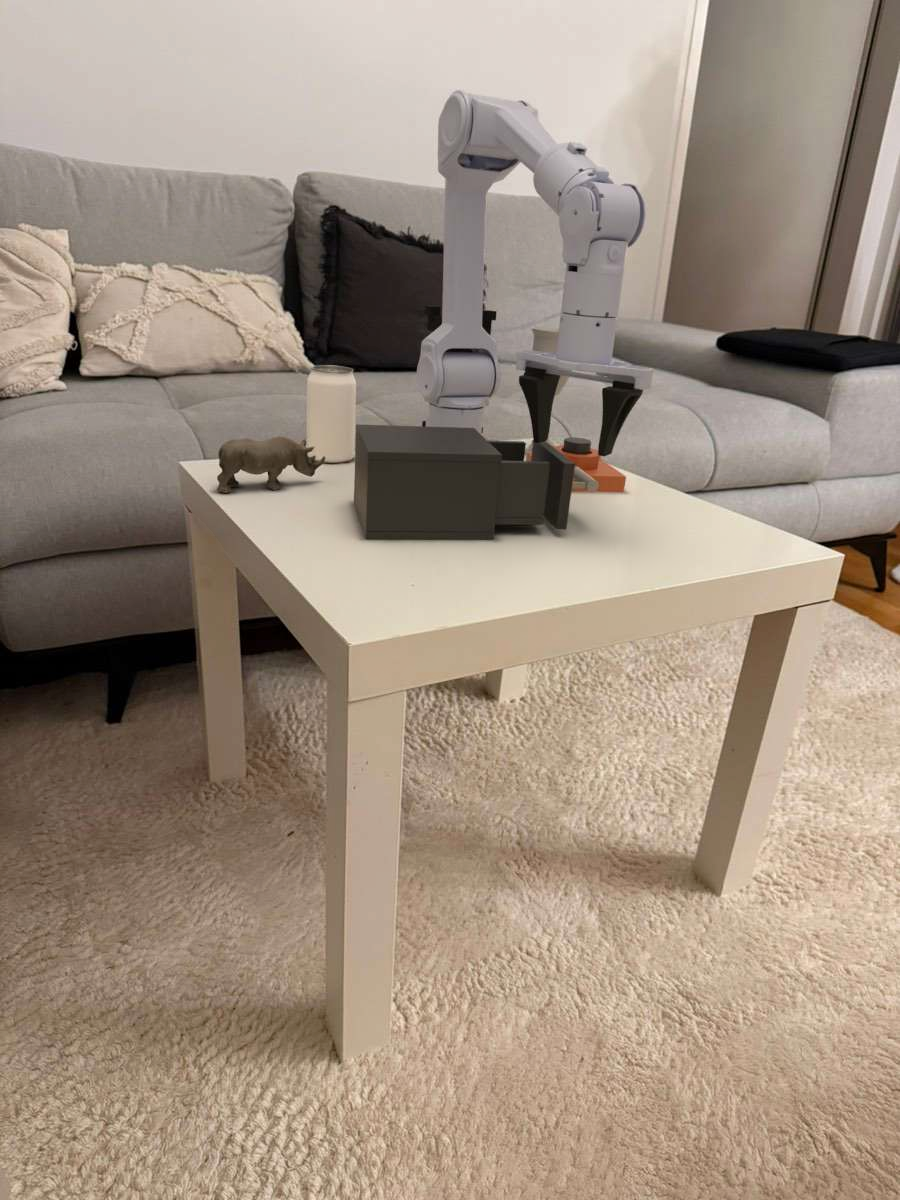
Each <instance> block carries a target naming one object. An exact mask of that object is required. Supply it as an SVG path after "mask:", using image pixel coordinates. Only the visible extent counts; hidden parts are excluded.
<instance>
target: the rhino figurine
mask: <svg viewBox="0 0 900 1200" xmlns="http://www.w3.org/2000/svg"><path fill="white" fill-rule="evenodd" d="M313 449H314V446H313V447H309V448H307V439H303V440H301V442H300V443H297V441H295V440H292V439H291V438H289V437H286V436H274V437H271V438H269V439H266V440H255V439H251V438H237V439H229V440H227V441H226V442H224V443H223V444H222V445H221V446H220V447H219V450H218V454H217V455H218V460H219V461H218V465H219V468H220V469H221V472H220V473H219V474H218V475H217V478H216V480H217V482H218V487H217V488H216V491H217V492H219V493H223V494H224V493H225V494H227V493H231V492H232V491H233V490H232V488H234V487H239V486H240V483H239V480H237V479H236V477H235V474H237V473H239V472H240V471H242V472H245V473H247V474H251V475H255V476H256V475H262V474H266V473H267V481H266V482H267V483H266V487H267V488H269V489H271V490H273V491H275V490H280V489H281V486H280V480H279V479H278V478H279V476H280V475H281V474H282V472H283V470H285V469H287V467H288V466H292V467H293V468H294V470H295V471H296V472H298V473H300V474H302V475H304V476H306V477H310V478H311V477H313V476H314V475H315V474H316V470H317V469H318V468H320V467H321V466H322V465H323V464H324V463H323V462H324V460H325V456H324V457H323V458H322V459H321V460H319V461H314V460H315V458H316V456H312V457H309V456H308V453H309V452H311V451H312V450H313Z"/></svg>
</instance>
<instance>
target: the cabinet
mask: <svg viewBox="0 0 900 1200" xmlns="http://www.w3.org/2000/svg"><path fill="white" fill-rule="evenodd" d="M501 460H502V455H501V454H500V453H499V452H498V451H497V450H496V449H495V448H494V447H493V446H492V445H491V444H490V443H489V442H488V441H487V438H485V437H484V436H483V435H482V433H481V434H480V433H479V432H478V431H477V430H476V429H475V428H457V427H424V426H422V425H419V426H417V425H391V424H390V425H389V424H388V425H387V424H359V423H358V424H356V423H355V443H354V480H353V481H354V482H353V484H354V486H353V505H354V508H355V511H356V513H357V516H358V520H359V523H360V526H361V530H362V533H363V535H364V538H365V539H366V540H494V539H495V530H496V529H495V528H496V525H495V520H496V510H497V499H498V489H499V479H500V469H501Z"/></svg>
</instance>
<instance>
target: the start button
mask: <svg viewBox="0 0 900 1200" xmlns="http://www.w3.org/2000/svg"><path fill="white" fill-rule="evenodd" d="M562 445H563V452H566V453H570V454H577V455H587V454H590V448H592V441H591V440H590V439H588V438H584V437H583V438H582V437H576V436H575V437H573V436H571V437H570V436H569V437H565V438H564V439H563V444H562Z"/></svg>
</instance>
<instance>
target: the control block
mask: <svg viewBox="0 0 900 1200" xmlns="http://www.w3.org/2000/svg"><path fill="white" fill-rule="evenodd" d="M563 445H564V444H559V445H556V446H554V448H555V449H556V450H558V451H559V452H560V453H562V454H563V455H564V456H566V457H567V458H568V459H569V460H571V461H572V462H573V463H575V466H576V467H579V468H580V469H581V470H583V471H584V472H585V473H586V474H588V475H589V476H590V477H592V478H593V479H594V480H596V481H597V482H598V485H599V486H598V489H597V490H596V491H595V492H594V493H596V492H597V493H624V492H625V487H626V481H627V480H626V479H627V476H626V475H625V474H623V473H622V472H620V471H619V470H618V469H616V468H615V467H613V466H612V465H610V464H609V463H608V462H606V461H604V460H603V459H602V456H599V455H598V449H595V448H592V447H591V448H590V454H587V455H577V454H570V453H566V452H563ZM531 456H532V452H527V453H526V455H525V461H531ZM573 482H576V481H575V480H574V479H573ZM571 492H589V491H587V490H586V489H585V488H572V491H571ZM589 493H590V492H589Z"/></svg>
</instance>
